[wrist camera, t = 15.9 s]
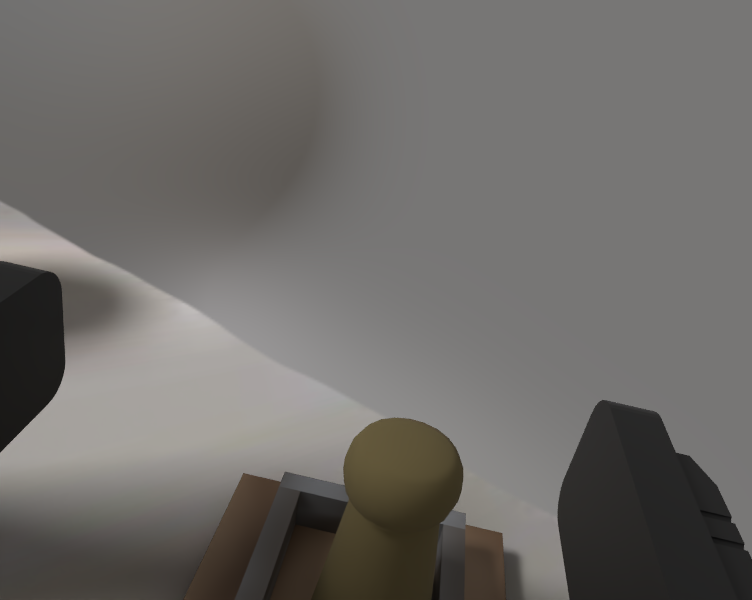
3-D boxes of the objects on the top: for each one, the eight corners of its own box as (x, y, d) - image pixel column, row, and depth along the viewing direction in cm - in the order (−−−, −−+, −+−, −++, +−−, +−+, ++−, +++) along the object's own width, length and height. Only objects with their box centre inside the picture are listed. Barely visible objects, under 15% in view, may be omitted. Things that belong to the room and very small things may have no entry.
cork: (300, 569, 34) (328, 398, 29) (409, 560, 36) (452, 397, 31) (319, 681, 29) (357, 496, 24) (445, 664, 31) (504, 488, 26)
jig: (137, 717, 28) (137, 657, 26) (241, 491, 40) (246, 441, 39) (506, 810, 27) (532, 755, 25) (495, 551, 40) (513, 502, 38)
